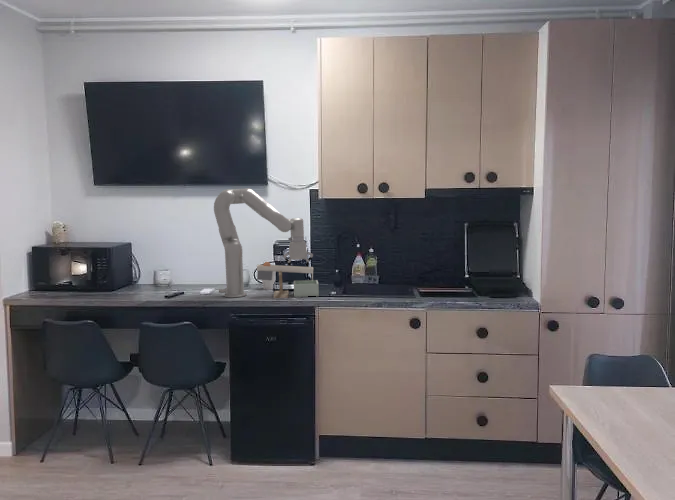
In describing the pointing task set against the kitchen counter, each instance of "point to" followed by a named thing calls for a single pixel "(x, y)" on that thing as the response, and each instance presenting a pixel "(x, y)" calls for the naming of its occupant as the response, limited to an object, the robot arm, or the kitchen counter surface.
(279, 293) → the lever stand
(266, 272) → the tipping trough
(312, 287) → the cup
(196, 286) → the kitchen counter surface
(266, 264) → the ball
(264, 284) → the foam cup
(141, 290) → the kitchen counter surface
